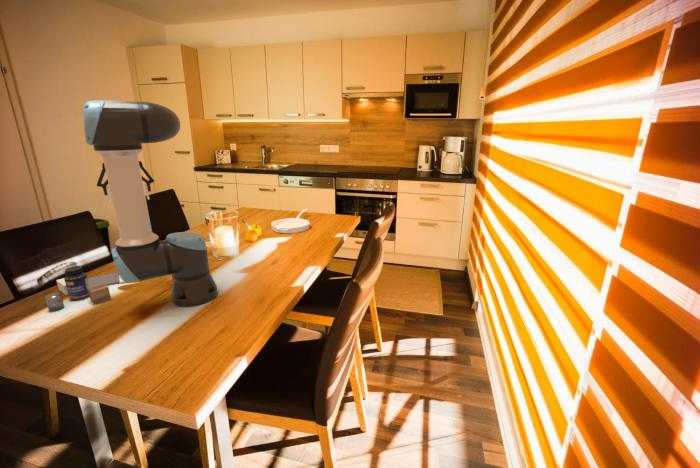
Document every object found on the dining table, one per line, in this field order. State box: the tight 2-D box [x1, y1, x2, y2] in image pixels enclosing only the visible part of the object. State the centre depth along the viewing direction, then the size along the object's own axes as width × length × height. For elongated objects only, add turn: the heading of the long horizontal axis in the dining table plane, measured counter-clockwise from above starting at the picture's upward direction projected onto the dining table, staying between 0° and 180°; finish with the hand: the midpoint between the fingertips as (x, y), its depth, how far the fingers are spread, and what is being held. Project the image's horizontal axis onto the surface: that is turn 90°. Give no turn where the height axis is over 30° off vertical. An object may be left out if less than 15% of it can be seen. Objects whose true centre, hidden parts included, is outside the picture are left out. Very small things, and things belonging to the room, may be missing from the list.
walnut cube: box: [87, 283, 112, 306], centre depth 117 cm, size 5×5×5 cm
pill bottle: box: [63, 265, 89, 301], centre depth 118 cm, size 6×6×11 cm
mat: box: [87, 271, 120, 287], centre depth 131 cm, size 11×11×1 cm
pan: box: [270, 208, 311, 235], centre depth 209 cm, size 24×43×6 cm, turn 169°
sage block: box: [56, 277, 69, 296], centre depth 124 cm, size 8×4×4 cm, turn 54°
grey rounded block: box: [44, 292, 65, 313], centre depth 111 cm, size 4×4×5 cm
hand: (130, 201), depth 143 cm, fingers open, 13 cm apart
